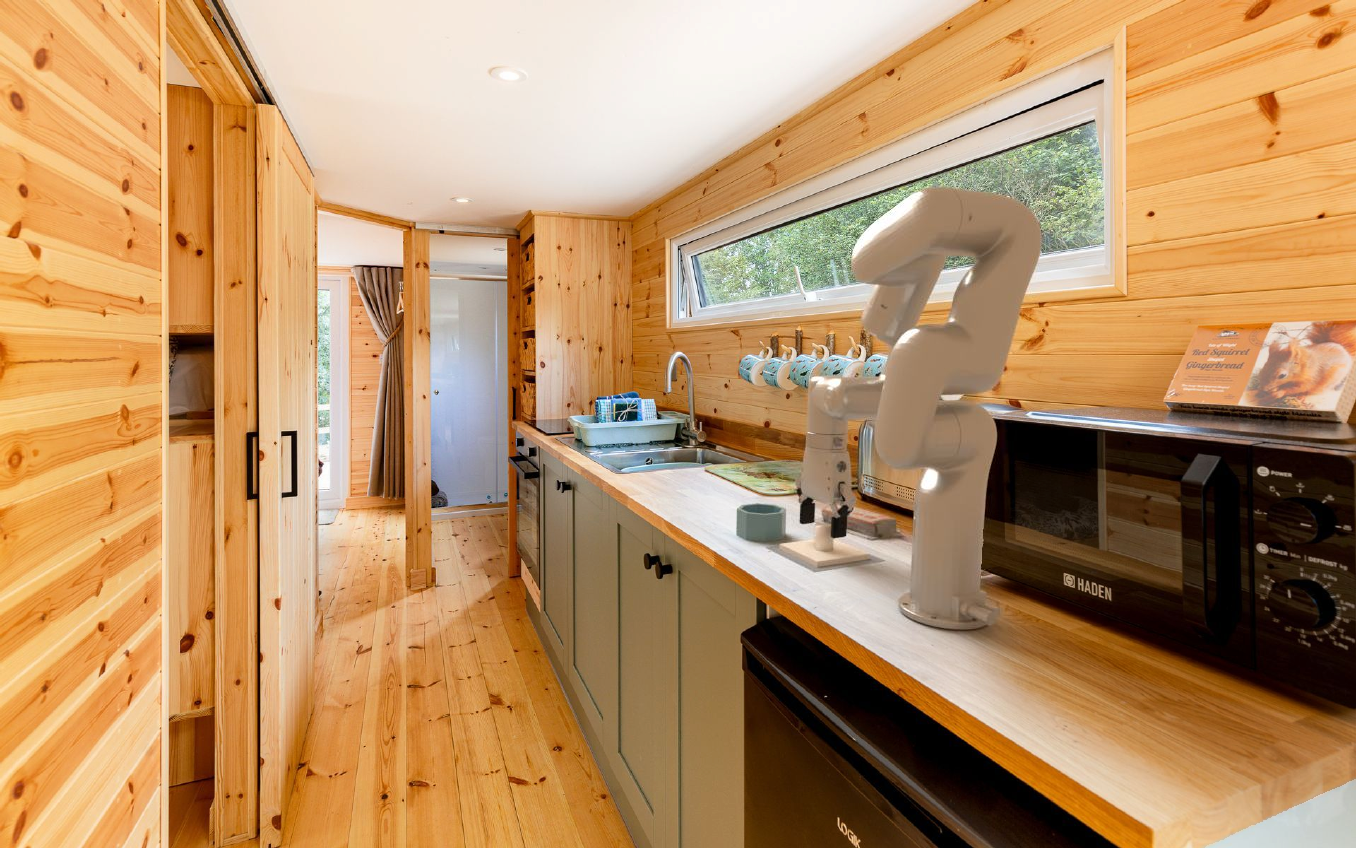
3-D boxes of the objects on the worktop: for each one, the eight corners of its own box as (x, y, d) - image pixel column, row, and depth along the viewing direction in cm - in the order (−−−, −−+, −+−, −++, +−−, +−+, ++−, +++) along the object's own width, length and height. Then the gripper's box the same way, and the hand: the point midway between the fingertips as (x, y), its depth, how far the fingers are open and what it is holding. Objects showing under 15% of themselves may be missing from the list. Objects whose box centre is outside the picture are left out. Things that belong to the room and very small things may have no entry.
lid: (869, 558, 121) (870, 530, 120) (816, 567, 116) (817, 537, 115) (829, 542, 132) (830, 515, 131) (779, 548, 127) (780, 521, 126)
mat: (885, 562, 120) (885, 560, 120) (814, 574, 113) (814, 572, 113) (830, 540, 134) (831, 538, 134) (765, 549, 128) (765, 547, 128)
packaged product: (904, 515, 138) (872, 521, 133) (903, 538, 138) (871, 545, 133) (842, 499, 153) (811, 504, 148) (841, 519, 153) (810, 525, 148)
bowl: (793, 540, 134) (793, 511, 133) (753, 545, 130) (753, 516, 129) (767, 528, 143) (768, 502, 142) (729, 533, 139) (730, 506, 138)
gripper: (873, 447, 115) (868, 540, 118) (814, 434, 131) (811, 516, 133) (839, 450, 112) (834, 545, 114) (783, 436, 128) (780, 520, 130)
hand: (822, 530), depth 124 cm, fingers open, 9 cm apart
